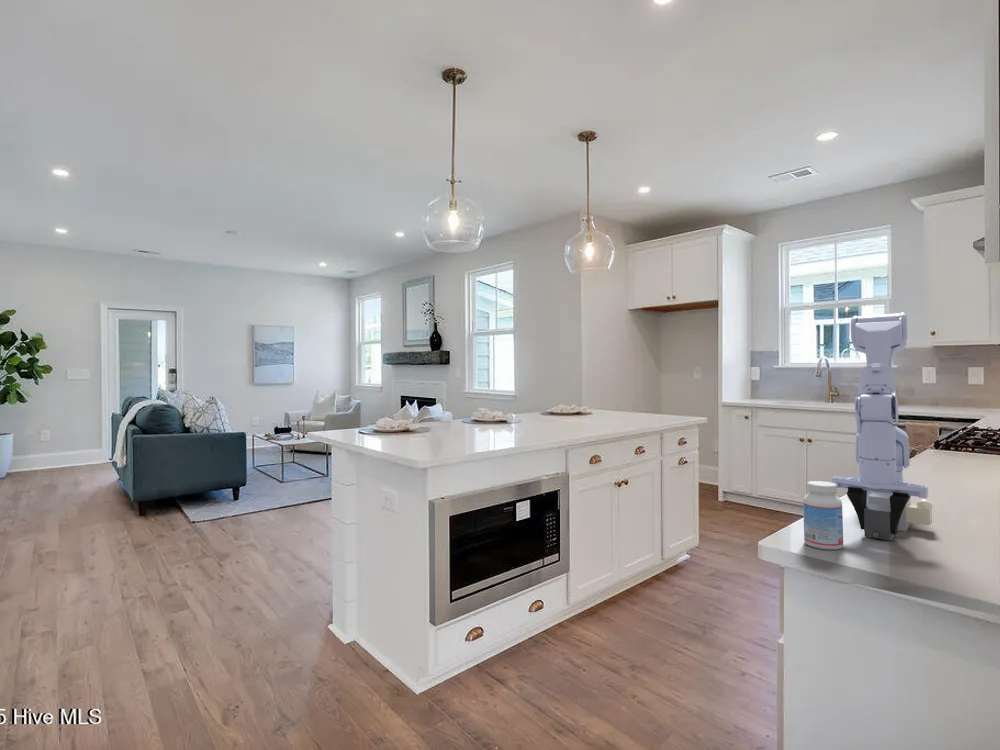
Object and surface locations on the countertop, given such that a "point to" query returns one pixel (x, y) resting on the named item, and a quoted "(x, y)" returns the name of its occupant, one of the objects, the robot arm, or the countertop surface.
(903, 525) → the socket cube
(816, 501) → the pill bottle
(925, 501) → the night light
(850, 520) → the countertop surface
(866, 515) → the block
